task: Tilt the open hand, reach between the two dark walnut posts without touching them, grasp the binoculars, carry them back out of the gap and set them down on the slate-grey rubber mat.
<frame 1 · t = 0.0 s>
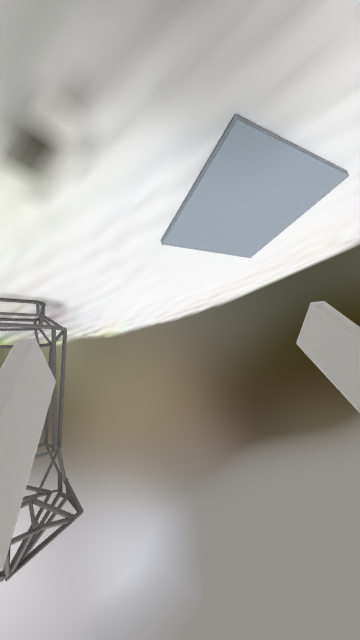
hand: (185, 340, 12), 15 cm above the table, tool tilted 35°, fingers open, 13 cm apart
geometric lantern: (15, 311, 39), on the table
grey mat: (244, 209, 26), on the table
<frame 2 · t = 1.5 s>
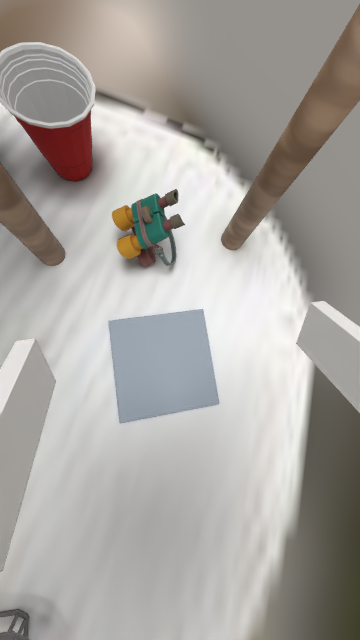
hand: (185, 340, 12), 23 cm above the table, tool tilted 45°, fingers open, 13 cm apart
post gap: (147, 246, 37), on the table
binoculars: (147, 247, 37), on the table
plastic cup: (75, 167, 38), on the table
grey mat: (163, 362, 35), on the table
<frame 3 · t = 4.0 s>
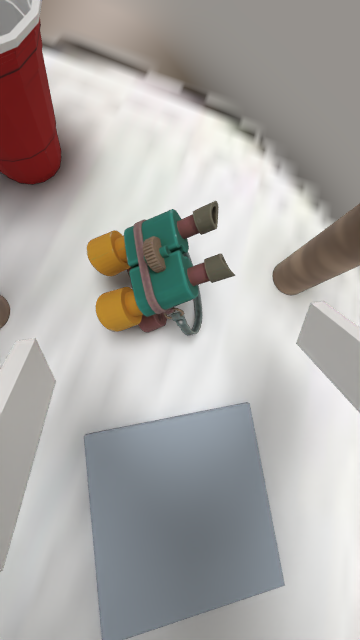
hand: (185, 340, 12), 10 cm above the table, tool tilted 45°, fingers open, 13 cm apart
post gap: (152, 293, 22), on the table
binoculars: (152, 294, 22), on the table
plastic cup: (33, 160, 23), on the table
grey mat: (183, 506, 19), on the table
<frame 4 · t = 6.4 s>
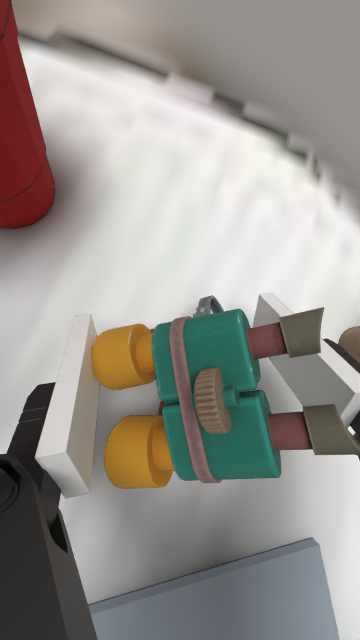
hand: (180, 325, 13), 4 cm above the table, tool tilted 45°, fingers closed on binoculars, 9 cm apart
post gap: (180, 381, 16), on the table
binoculars: (180, 381, 16), on the table, touching gripper
plastic cup: (17, 195, 17), on the table
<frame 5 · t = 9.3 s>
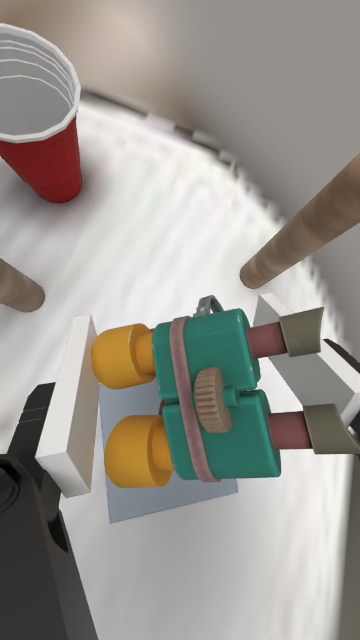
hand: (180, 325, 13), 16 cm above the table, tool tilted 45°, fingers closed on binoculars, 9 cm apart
post gap: (148, 285, 30), on the table
binoculars: (180, 380, 16), point 12 cm above the table, touching gripper
plastic cup: (60, 184, 31), on the table
grey mat: (167, 437, 27), on the table
when the fingers open (5 cm above the table, at t = 12.4 s): binoculars drops 1 cm, resting on grey mat.
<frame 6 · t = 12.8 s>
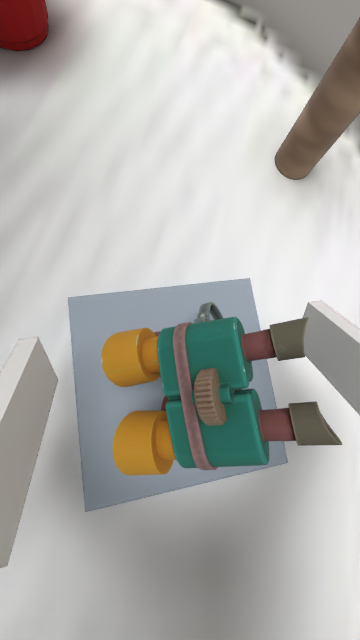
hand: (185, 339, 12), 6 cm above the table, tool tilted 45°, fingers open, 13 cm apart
post gap: (145, 166, 21), on the table
binoculars: (181, 380, 17), resting on grey mat
plastic cup: (18, 30, 22), on the table
grey mat: (176, 379, 18), on the table
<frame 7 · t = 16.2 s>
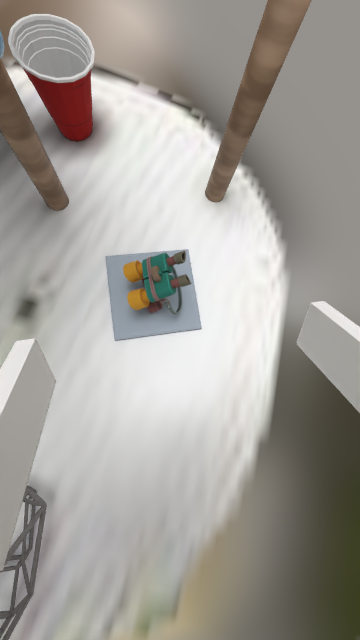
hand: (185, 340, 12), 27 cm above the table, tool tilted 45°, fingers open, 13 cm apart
geometric lantern: (3, 530, 31), on the table
post gap: (140, 196, 43), on the table
binoculars: (155, 292, 39), resting on grey mat
plastic cup: (77, 129, 44), on the table
grey mat: (153, 293, 40), on the table
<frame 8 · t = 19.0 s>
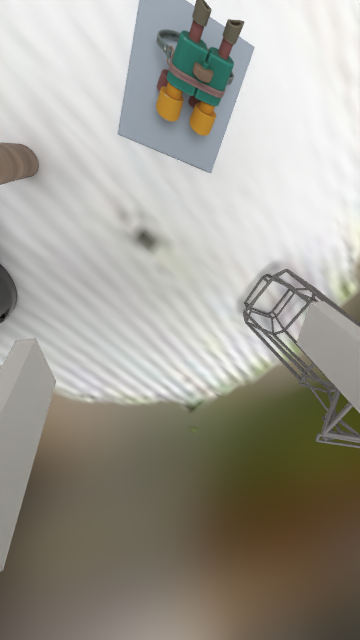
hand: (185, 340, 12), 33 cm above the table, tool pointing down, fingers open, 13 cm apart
geometric lantern: (270, 295, 53), on the table
post gap: (22, 7, 25), on the table
binoculars: (184, 89, 31), resting on grey mat
grey mat: (182, 92, 31), on the table
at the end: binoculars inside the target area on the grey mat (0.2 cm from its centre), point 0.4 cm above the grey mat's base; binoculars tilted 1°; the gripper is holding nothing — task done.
